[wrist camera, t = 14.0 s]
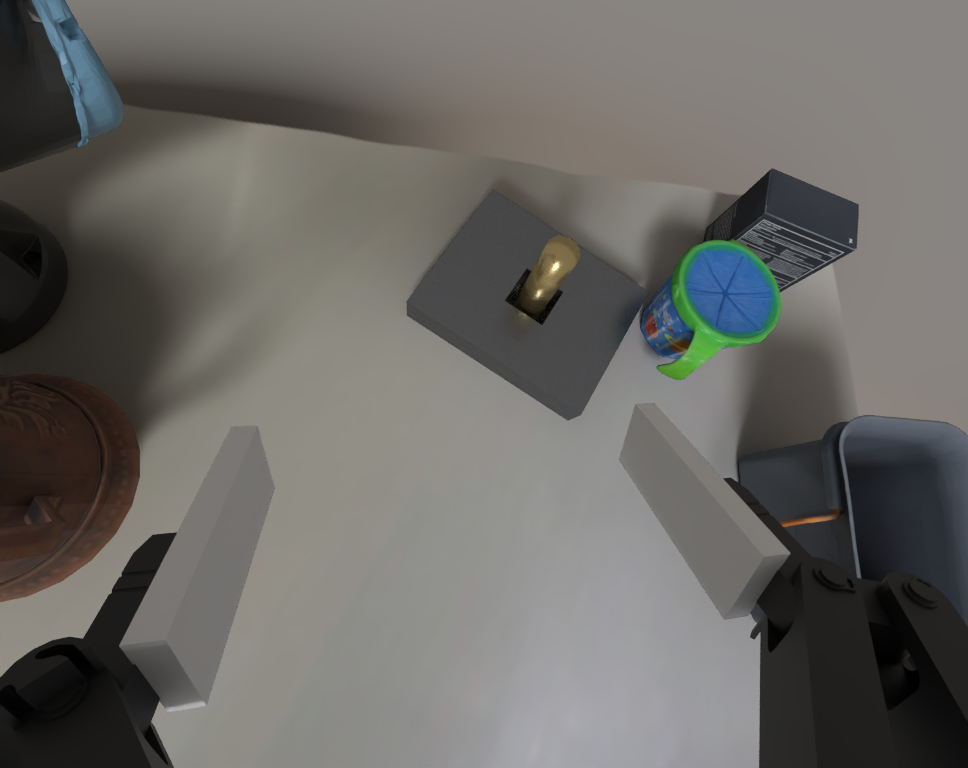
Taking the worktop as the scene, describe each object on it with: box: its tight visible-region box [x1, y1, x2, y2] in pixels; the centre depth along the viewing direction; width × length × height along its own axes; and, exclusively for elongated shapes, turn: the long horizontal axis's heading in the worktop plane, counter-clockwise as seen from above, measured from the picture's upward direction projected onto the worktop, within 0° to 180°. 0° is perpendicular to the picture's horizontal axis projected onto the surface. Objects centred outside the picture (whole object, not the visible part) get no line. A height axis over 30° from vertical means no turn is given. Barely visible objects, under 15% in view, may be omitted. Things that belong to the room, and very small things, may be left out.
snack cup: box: [641, 239, 781, 380], centre depth 44 cm, size 16×10×10 cm
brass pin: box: [513, 236, 580, 320], centre depth 41 cm, size 3×3×12 cm
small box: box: [704, 169, 859, 292], centre depth 48 cm, size 11×6×10 cm, turn 72°
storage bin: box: [739, 415, 968, 670], centre depth 38 cm, size 21×16×14 cm
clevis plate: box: [407, 189, 649, 420], centre depth 45 cm, size 20×16×4 cm
